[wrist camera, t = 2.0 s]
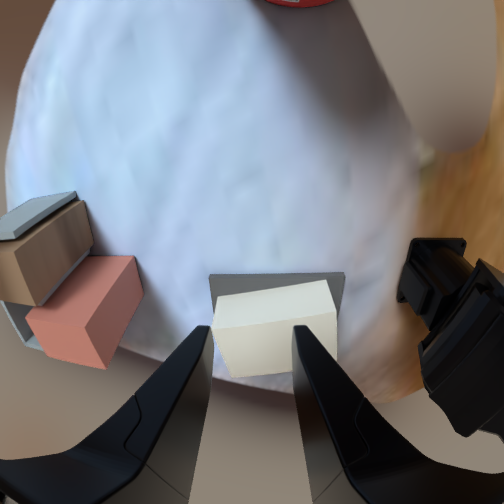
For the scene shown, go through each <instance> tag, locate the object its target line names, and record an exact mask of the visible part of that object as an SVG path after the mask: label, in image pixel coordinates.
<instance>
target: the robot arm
mask: <svg viewBox="0 0 504 504" xmlns="http://www.w3.org/2000/svg"><path fill="white" fill-rule="evenodd" d="M416 243H417V245H416V246H415V244H416ZM461 244H462V245H461ZM466 244H467V243H466V241H465V240H464V239H463V238H414V239H413V240H412V241H411V243H410V247H409V252H408V256H407V260H406V263H405V265H404V269H403V273H402V277H401V280H400V284H399V290H398V294H397V300H398V302H400V303H405V302H409V304H410V305H411V307H412V309H413V310H414V312H415V314H416V315H417V316H421V318H422V319H423V321H424V323H425V324H426V326H427V328H428V330H429V331H431V332H430V333H429V334H428V335H427V337H426V338H425V339H424V340H423V341H421V342H420V343H419V345H418V351H419V357H420V364H421V375H422V378H423V383H424V386H425V389H426V390H427V391H428V393H429V397H430V398H431V399H432V400H433V401H434V402H435V403H436V404H437V405H438V406H439V407H440V408H441V409H442V410H443V411H444V413H445V414H446V416H447V417H448V419H449V421H450V423H451V425H452V426H453V428H454V430H455V432H457V433H458V434H460V435H462V436H464V437H469V436H470V435H472V434H473V433H474V432H476V431H477V430H480V431H483V432H487V433H491V434H495V435H497V436H499V438H500V439H501V440H502V442H503V443H504V273H502V272H501V271H499V270H498V269H496V268H494V267H493V266H491V265H490V264H488V263H487V262H485V261H483V260H482V259H480V258H479V259H478V261H477V263H476V266H475V268H474V267H473V266H472V265H471V264H470V263H469V262H468V261H467V260H466V259H465V258H463V255H464V251H465V248H466ZM401 297H402V298H401ZM291 351H292V371H293V389H294V396H295V402H296V407H297V413H298V419H299V424H300V429H301V436H302V441H303V447H304V453H305V459H306V465H307V471H308V477H309V483H310V489H311V495H312V501H313V504H504V472H502V473H498V474H497V473H496V474H489V473H482V472H477V471H472V470H468V469H463V468H458V467H455V466H451V465H447V464H443V463H439V462H436V461H434V460H432V459H430V458H428V457H426V456H425V455H424V454H422V453H421V452H420V451H419V450H418V449H416V448H415V447H414V446H413V445H412V444H411V443H410V442H409V441H408V440H406V439H405V438H404V437H403V436H402V435H401V434H400V433H399V432H398V431H397V430H396V429H394V428H393V427H392V426H391V425H390V424H389V423H388V422H387V421H386V420H385V419H384V418H383V417H382V416H381V415H380V413H379V412H378V411H377V410H376V409H375V408H374V407H373V406H372V404H371V403H370V402H369V401H368V399H367V398H366V397H364V395H363V393H362V392H361V391H360V390H359V389H358V387H357V386H356V385H355V384H354V382H353V381H352V380H351V379H350V378H349V376H348V375H347V374H346V373H345V372H344V370H343V369H342V368H341V367H340V365H339V364H338V363H337V362H336V361H335V359H334V358H333V357H332V356H331V354H330V353H329V352H328V351H327V350H326V348H325V347H324V346H323V345H322V344H321V342H320V341H319V340H318V339H317V337H316V336H315V335H314V334H313V333H312V331H311V330H310V329H309V328H308V326H307V325H294V326H293V331H292V343H291ZM213 357H214V341H213V336H212V330H211V327H210V326H205V325H199V326H197V327H196V328H195V329H194V330H193V331H192V332H191V333H190V334H189V335H188V336H187V338H186V339H185V340H184V341H183V342H182V343H181V344H180V345H179V346H178V347H177V348H176V349H175V350H174V352H173V353H172V354H171V355H170V356H169V357H168V358H167V359H166V360H165V361H164V362H163V363H162V364H161V366H160V367H159V368H158V369H157V370H156V371H155V372H154V373H153V374H152V375H151V376H150V377H149V378H148V380H146V382H145V383H144V384H143V385H142V386H141V387H140V388H139V389H138V390H137V391H136V392H135V395H132V396H131V397H130V398H129V400H128V401H127V402H126V403H125V404H124V405H123V406H122V407H121V408H120V409H119V410H118V411H117V412H116V413H115V414H114V415H112V416H111V417H110V418H109V419H108V420H107V421H106V422H105V423H103V424H102V425H101V426H100V427H98V428H97V429H96V430H95V431H93V432H92V433H91V434H90V435H89V436H87V437H86V438H85V439H84V440H82V441H81V442H80V443H79V444H77V445H76V446H74V447H73V448H71V449H69V450H67V451H64V452H62V453H58V454H52V455H46V456H39V457H32V458H24V459H15V460H3V459H0V504H188V502H189V501H188V500H189V497H190V492H191V486H192V481H193V476H194V471H195V466H196V461H197V456H198V451H199V446H200V441H201V436H202V431H203V426H204V421H205V417H206V412H207V407H208V402H209V397H210V392H211V383H212V370H213Z"/></svg>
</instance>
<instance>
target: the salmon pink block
mask: <svg viewBox="0 0 504 504" xmlns="http://www.w3.org/2000/svg"><path fill="white" fill-rule="evenodd" d="M143 296H144V292H143V289H142V285H141V281H140V278H139V274H138V270H137V266H136V262H135V258H134V256H86V257H85V258H84V259H83V260H82V261H81V262H80V263H79V265H78V266H77V267H76V268H75V269H74V270H73V271H72V272H71V273H70V274H69V275H68V276H67V278H66V279H65V280H64V281H63V282H62V283H61V284H60V285H59V287H58V288H57V289H56V290H55V291H54V292H53V294H52V295H51V296H50V297H49V298H48V299H47V301H46V302H45V303H44V304H43V305H42V306H38V305H37V306H34V307H33V308H32V310H31V311H30V312H29V313H28V314H27V316H26V317H25V319H26V320H27V322H28V324H29V326H30V328H31V330H32V331H33V333H34V335H35V337H36V338H37V340H38V342H39V343H40V345H41V347H42V348H43V350H44V351H45V353H46V355H47V356H48V357H52V358H56V359H60V360H64V361H68V362H72V363H76V364H81V365H86V366H90V367H95V368H100V369H107V367H108V365H109V363H110V361H111V359H112V357H113V355H114V353H115V351H116V348H117V346H118V344H119V342H120V340H121V338H122V336H123V334H124V332H125V330H126V328H127V326H128V324H129V322H130V320H131V318H132V316H133V315H134V313H135V311H136V309H137V307H138V305H139V303H140V301H141V299H142V297H143Z"/></svg>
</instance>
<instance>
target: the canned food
mask: <svg viewBox="0 0 504 504" xmlns="http://www.w3.org/2000/svg"><path fill="white" fill-rule="evenodd" d="M266 1H268V2H271V3H274V4H277V5H281V6H287V7H298V8H303V7H313V6H318V5H322V4H326V3H328V2H331V1H334V0H266Z"/></svg>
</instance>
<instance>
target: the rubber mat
mask: <svg viewBox="0 0 504 504" xmlns="http://www.w3.org/2000/svg"><path fill="white" fill-rule="evenodd" d="M320 280H326V281H327V284H328V287H329V290H330V293H331V296H332V299H333V302H334V305H335V308H336V313H337V318H338V313H339V308H340V303H341V297H342V291H343V286H344V280H345V275H344V272H332V273H289V274H210V276H209V283H210V291H211V298H212V305H213V312H214V313H215V308H216V303H217V298H218V297H219V296H226V295H233V294H240V293H247V292H253V291H260V290H266V289H272V288H279V287H285V286H291V285H297V284H303V283H309V282H314V281H320Z"/></svg>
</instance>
